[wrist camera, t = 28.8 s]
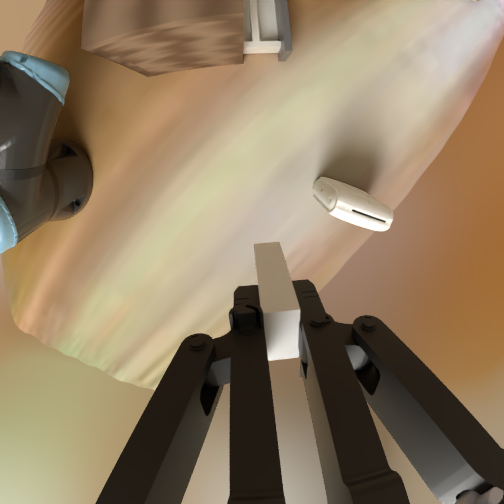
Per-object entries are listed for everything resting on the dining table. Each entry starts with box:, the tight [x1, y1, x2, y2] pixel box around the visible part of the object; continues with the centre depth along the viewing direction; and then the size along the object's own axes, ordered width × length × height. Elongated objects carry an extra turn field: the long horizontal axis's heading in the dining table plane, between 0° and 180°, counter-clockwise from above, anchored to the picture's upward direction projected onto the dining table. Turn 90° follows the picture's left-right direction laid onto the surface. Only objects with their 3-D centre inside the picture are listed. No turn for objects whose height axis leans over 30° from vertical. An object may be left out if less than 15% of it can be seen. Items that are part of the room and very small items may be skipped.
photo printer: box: [313, 177, 393, 231], centre depth 40 cm, size 10×4×12 cm, turn 74°
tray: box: [243, 0, 292, 61], centre depth 29 cm, size 20×19×7 cm
